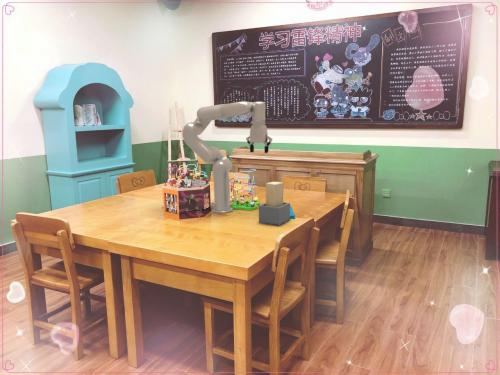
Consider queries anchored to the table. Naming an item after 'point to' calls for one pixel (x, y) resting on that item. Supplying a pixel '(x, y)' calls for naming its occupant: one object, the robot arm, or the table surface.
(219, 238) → the table surface
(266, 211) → the box
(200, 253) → the table surface
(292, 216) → the lever
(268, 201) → the beige tall block
